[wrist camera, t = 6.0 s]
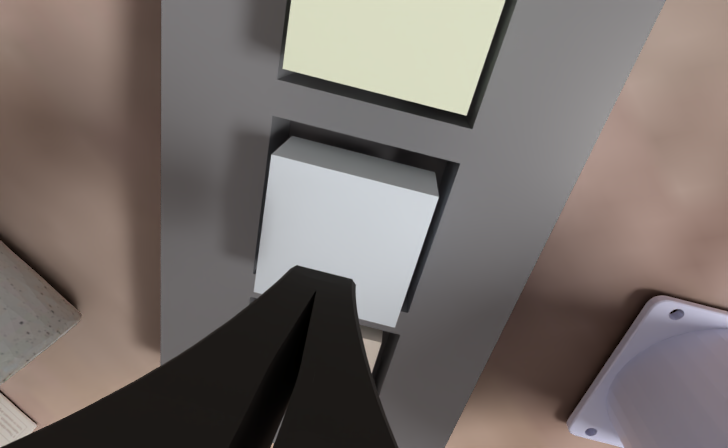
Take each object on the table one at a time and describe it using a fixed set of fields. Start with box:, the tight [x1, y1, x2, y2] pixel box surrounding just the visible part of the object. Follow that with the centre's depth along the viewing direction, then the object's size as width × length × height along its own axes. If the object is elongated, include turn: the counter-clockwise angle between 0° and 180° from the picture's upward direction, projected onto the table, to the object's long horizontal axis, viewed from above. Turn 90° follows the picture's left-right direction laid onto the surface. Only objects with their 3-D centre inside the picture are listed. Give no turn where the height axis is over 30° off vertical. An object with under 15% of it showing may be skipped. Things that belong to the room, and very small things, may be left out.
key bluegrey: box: [254, 136, 439, 328], centre depth 12 cm, size 4×4×2 cm
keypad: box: [161, 0, 666, 448], centre depth 13 cm, size 12×29×3 cm, turn 167°
